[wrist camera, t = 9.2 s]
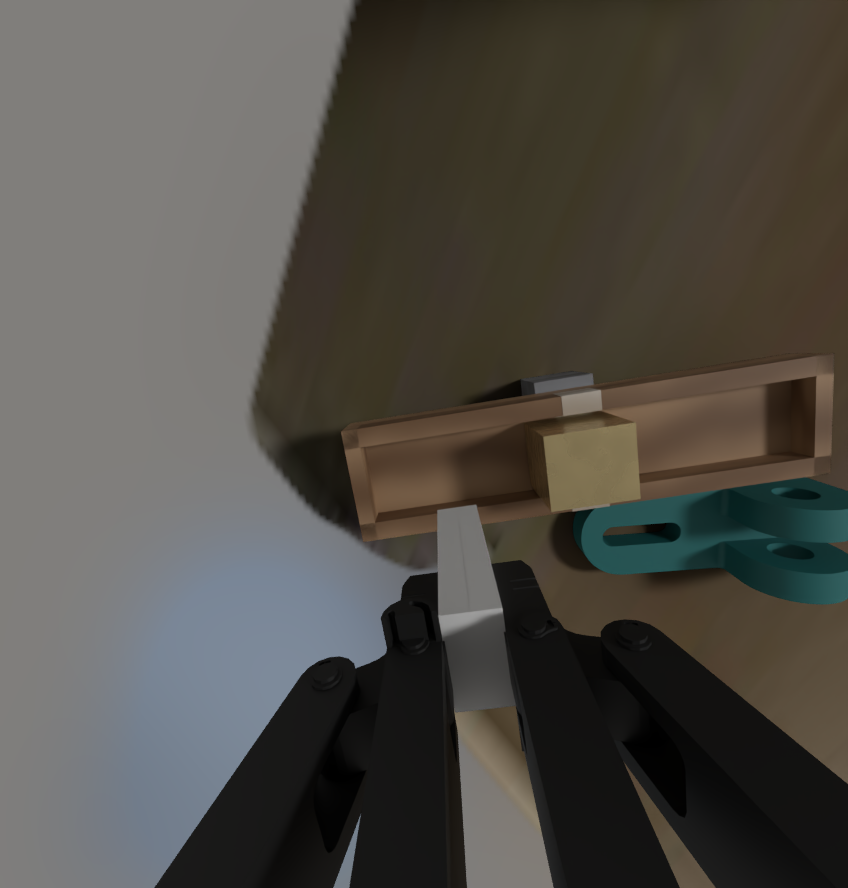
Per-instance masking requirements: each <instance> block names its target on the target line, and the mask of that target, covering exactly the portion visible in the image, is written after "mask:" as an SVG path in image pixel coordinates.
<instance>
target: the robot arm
mask: <svg viewBox="0 0 848 888" xmlns="http://www.w3.org/2000/svg"><path fill="white" fill-rule="evenodd" d="M437 528H438V572H437V573H430V574H422V575H415V576H410V577H409V579H408V580H407V581H406V582H405V584H404V585H403V587H402V594H401V600H400V601H398V602H396V603H394V604H392V605H390V606H389V607H388V608H387V609H386V610H385V611H384V612H383V614H382V617H381V621H382V625H383V631H384V635H385V640H386V645H387V652H386V654H385V655H384V656H382V657H381V658H380V659H378V660H376V661H373V662H371V663H369V664H366V665H364V666H361V667H358V668H356V669H355V666H354V663H352V661H350V660H349V659H347V658H344V657H330V658H327V659H324V660H321V661H318V662H317V663H315V664H314V665H312V666H311V667H309V668H308V669H307V670H306V671H305V672H304V673H303V674H302V675H301V677H300V678H299V680H298V681H297V683H296V684H295V685H294V687H293V688H292V690H291V691H290V693H289V694H288V696H287V697H286V699H285V700H284V701H283V703H282V704H281V706H280V707H279V709H278V710H277V711H276V713H275V714H274V716H273V717H272V719H271V720H270V722H269V723H268V725H267V726H266V727H265V729H264V730H263V732H262V733H261V735H260V736H259V738H258V739H257V741H256V742H255V743H254V745H253V746H252V748H251V749H250V750H249V752H248V753H247V755H246V756H245V758H244V759H243V761H242V762H241V763H240V765H239V766H238V768H237V769H236V771H235V772H234V774H233V775H232V776H231V778H230V779H229V781H228V782H227V784H226V785H225V787H224V788H223V790H222V791H221V792H220V794H219V795H218V797H217V798H216V800H215V801H214V803H213V804H212V805H211V807H210V808H209V810H208V811H207V813H206V814H205V815H204V817H203V818H202V820H201V821H200V823H199V824H198V826H197V827H196V829H195V830H194V831H193V833H192V834H191V836H190V837H189V839H188V840H187V842H186V843H185V844H184V846H183V847H182V849H181V850H180V852H179V853H178V854H177V856H176V858H175V859H174V861H173V862H172V863H171V865H170V866H169V868H168V869H167V870H166V872H165V873H164V875H163V876H162V878H161V879H160V881H159V882H158V883H157V885H156V886H155V888H333V887H334V884H335V881H336V878H337V876H338V873H339V871H340V868H341V865H342V863H343V860H344V857H345V855H346V852H347V849H348V846H349V844H350V841H351V838H352V836H353V833H354V830H355V828H356V825H357V822H358V819H359V817H360V814H361V818H360V824H359V830H358V836H357V843H356V849H355V855H354V862H353V868H352V875H351V881H350V887H349V888H467V882H466V866H465V849H464V832H463V815H462V798H461V782H460V766H459V748H458V732H457V726H456V720H455V715H454V708H455V712H464V711H473V710H482V709H491V708H500V707H509V706H516V709H517V716H518V724H519V731H520V738H521V746H522V751H524V752H525V757H526V761H527V766H528V771H529V775H530V780H531V784H532V789H533V794H534V798H535V803H536V808H537V812H538V817H539V822H540V826H541V831H542V835H543V840H544V845H545V849H546V854H547V859H548V863H549V868H550V872H551V877H552V882H553V887H554V888H680V887H679V885H678V883H677V880H676V878H675V876H674V874H673V872H672V869H671V867H670V865H669V863H668V860H667V858H666V856H665V854H664V851H663V849H662V847H661V845H660V843H659V840H658V838H657V836H656V834H655V831H654V829H653V827H652V825H651V822H650V820H649V818H648V816H647V814H646V811H645V809H644V807H643V805H642V802H641V800H640V798H639V796H638V793H637V791H636V789H635V787H634V784H633V782H632V780H631V778H630V776H629V773H628V771H627V769H626V767H625V764H626V765H627V767H628V768H629V769H630V771H631V772H632V773H633V775H634V776H635V778H636V779H637V780H638V782H639V783H640V784H641V786H642V787H643V789H644V790H645V791H646V793H647V794H648V795H649V797H650V798H651V800H652V801H653V802H654V804H655V805H656V806H657V808H658V809H659V810H660V812H661V813H662V815H663V816H664V817H665V819H666V820H667V821H668V823H669V824H670V826H671V827H672V828H673V830H674V831H675V832H676V834H677V835H678V837H679V838H680V839H681V841H682V842H683V843H684V845H685V846H686V847H687V849H688V850H689V852H690V853H691V854H692V856H693V857H694V858H695V860H696V861H697V863H698V864H699V865H700V867H701V868H702V869H703V871H704V872H705V874H706V875H707V876H708V878H709V879H710V880H711V882H712V883H713V884H714V886H715V887H716V888H848V784H847V783H846V782H844V781H843V780H842V779H841V778H840V777H838V776H837V775H836V774H835V773H833V772H832V771H831V770H830V769H829V768H827V767H826V766H825V765H824V764H822V763H821V762H820V761H819V760H818V759H816V758H815V757H814V756H813V755H811V754H810V753H809V752H808V751H807V750H805V749H804V748H803V747H802V746H800V745H799V744H798V743H797V742H796V741H794V740H793V739H792V738H791V737H789V736H788V735H787V734H786V733H785V732H783V731H782V730H781V729H780V728H778V727H777V726H776V725H775V724H774V723H772V722H771V721H770V720H769V719H767V718H766V717H765V716H764V715H763V714H761V713H760V712H759V711H758V710H756V709H755V708H754V707H753V706H752V705H750V704H749V703H748V702H747V701H745V700H744V699H743V698H742V697H741V696H739V695H738V694H737V693H736V692H734V691H733V690H732V689H731V688H730V687H728V686H727V685H726V684H725V683H723V682H722V681H721V680H720V679H719V678H717V677H716V676H715V675H714V674H712V673H711V672H710V671H709V670H708V669H706V668H705V667H704V666H703V665H701V664H700V663H699V662H698V661H697V660H695V659H694V658H693V657H692V656H690V655H689V654H688V653H687V652H686V651H684V650H683V649H682V648H681V647H679V646H678V645H677V644H676V643H675V642H673V641H672V640H671V639H670V638H668V637H667V636H666V635H665V634H664V633H662V632H661V631H660V630H658V629H656V628H655V627H653V626H652V625H650V624H647V623H644V622H640V621H637V620H618V621H613V622H611V623H609V624H607V625H605V627H604V628H603V629H602V631H601V637H595V636H586V635H580V634H575V633H573V632H570V631H567V630H565V629H564V628H563V626H562V625H561V623H560V622H559V621H558V620H557V619H556V618H554V617H552V615H551V613H550V611H549V608H548V606H547V604H546V601H545V599H544V597H543V594H542V592H541V590H540V587H539V585H538V583H537V580H536V579H535V576H534V573H533V571H532V569H531V567H530V566H528V565H527V564H525V563H524V562H523V561H521V560H518V561H510V562H503V563H495V564H491V561H490V557H489V553H488V549H487V545H486V541H485V537H484V533H483V530H482V526H481V522H480V518H479V514H478V510H477V506H476V505H470V506H463V507H456V508H449V509H442V510H437ZM623 761H624V762H623ZM624 763H625V764H624Z"/></svg>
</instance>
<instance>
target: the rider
mask: <svg viewBox="0 0 848 888" xmlns="http://www.w3.org/2000/svg"><path fill="white" fill-rule="evenodd" d="M524 430H525V439H526V447H527V456H528V465H529V473H530V482H531V486H532V488H533V489H534V490H535V491H536V493H537V494H538V495H539V497H540V498H541V499H542V501H543V502H544V503H545V504H546V506H547V507H548V508H549V510H550V511H551V512H555V511H562V510H569V509H576V508H582V507H589V506H596V505H603V504H610V503H617V502H623V501H630V500H637V499H641V497H640V481H639V465H638V449H637V433H636V422H633V421H630V420H627V419H624V418H621V417H618V416H615V415H612V414H609V413H606V412H603V411H594V412H587V413H581V414H575V415H568V416H562V417H555V418H549V419H543V420H536V421H530V422H524Z"/></svg>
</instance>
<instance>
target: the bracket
mask: <svg viewBox="0 0 848 888" xmlns="http://www.w3.org/2000/svg"><path fill="white" fill-rule="evenodd" d="M659 523H667V524H666V527H665V528H664V529H663V530H661V531H659V532H649V533H636V534H623V535H609V536H603V534H604V532H605V531H606V530H607V529H608V528H610V527H619V526H632V525H645V524H659ZM573 535H574V539H575V541H576V543H577V545H578V547H579V548H580V549H581V551H582V552H583V553H584V555H585V556H586V557H587V558H588V560H589V561H590V562H591V563H592V564H593V565H594V566H595V567H597V568H598V569H600V570H602V571H604V572H607V573H611V574H635V573H649V572H663V571H677V570H691V569H705V568H722V569H725V570H726V571H728V572H729V573H731V574H732V575H733V576H735V577H736V578H737V579H739V580H740V581H742V582H743V583H744V584H746V585H748V586H750V587H751V588H753V589H755V590H758V591H760V592H763V593H765V594H768V595H771V596H774V597H777V598H781V599H785V600H789V601H794V602H800V603H808V604H834V603H839V602H842V601H844V600H846V599H848V554H847V553H845V552H844V551H842V550H840V549H838V548H836V547H834V546H832V545H830V544H828V543H834V542H843V541H848V491H846V490H843V489H840V488H837V487H834V486H830V485H827V484H824V483H821V482H818V481H815V480H812V479H809V478H806V477H803V478H796V479H789V480H782V481H775V482H769V483H762V484H755V485H748V486H741V487H734V488H728V489H721V490H714V491H707V492H700V493H693V494H687V495H680V496H673V497H666V498H659V499H652V500H646V501H639V502H632V503H625V504H618V505H611V506H608V507H601V508H594V509H587V510H580V511H577V512H576V515H575V518H574V522H573Z"/></svg>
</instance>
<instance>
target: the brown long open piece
mask: <svg viewBox="0 0 848 888" xmlns="http://www.w3.org/2000/svg"><path fill="white" fill-rule="evenodd" d="M833 379H834V353H788V354H782V355H776V356H769V357H763V358H757V359H751V360H744V361H738V362H732V363H725V364H719V365H713V366H707V367H700V368H694V369H688V370H682V371H675V372H669V373H663V374H657V375H650V376H644V377H638V378H632V379H625V380H619V381H613V382H607V383H600V384H593V374H592V373H583V372H574V371H569V372H563V373H557V374H551V375H544V376H538V377H532V378H526V379H520V381H521V389H522V396H519V397H513V398H506V399H500V400H494V401H488V402H481V403H475V404H469V405H463V406H456V407H450V408H444V409H438V410H431V411H425V412H419V413H413V414H406V415H400V416H394V417H387V418H381V419H375V420H369V421H362V422H356V423H350V424H349V425H348V426H347V427H346V428H345V429H343V430H342V431H341V435H342V440H343V445H344V450H345V455H346V460H347V464H348V469H349V474H350V479H351V484H352V489H353V494H354V499H355V503H356V508H357V513H358V518H359V523H360V528H361V533H362V538H363V542H366V541H372V540H379V539H386V538H393V537H400V536H407V535H413V534H420V533H427V532H434V531H438V528H437V510H442V509H449V508H456V507H463V506H470V505H476V506H477V510H478V514H479V518H480V522H481V525H482V524H489V523H495V522H502V521H509V520H516V519H523V518H529V517H536V516H543V515H550V514H557V513H564V512H570V511H572V512H573V511H580V510H587V509H594V508H601V507H608V506H611V505H618V504H625V503H632V502H639V501H646V500H652V499H659V498H666V497H673V496H680V495H687V494H693V493H700V492H707V491H714V490H721V489H728V488H734V487H741V486H748V485H755V484H762V483H769V482H775V481H782V480H789V479H796V478H803V477H810V476H816V475H823V474H830V473H831V442H832V410H833ZM594 411H603V412H606V413H609V414H612V415H615V416H618V417H621V418H624V419H627V420H630V421H633V422H636V433H637V449H638V465H639V481H640V497H641V499H637V500H630V501H623V502H617V503H610V504H603V505H596V506H589V507H582V508H576V509H569V510H562V511H555V512H551V511H550V510H549V508H548V507H547V506H546V504H545V503H544V502H543V501H542V499H541V498H540V497H539V495H538V494H537V493H536V491H535V490H534V489H533V488H532V486H531V482H530V473H529V465H528V456H527V447H526V439H525V430H524V422H530V421H536V420H543V419H549V418H555V417H562V416H568V415H575V414H581V413H587V412H594Z"/></svg>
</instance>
